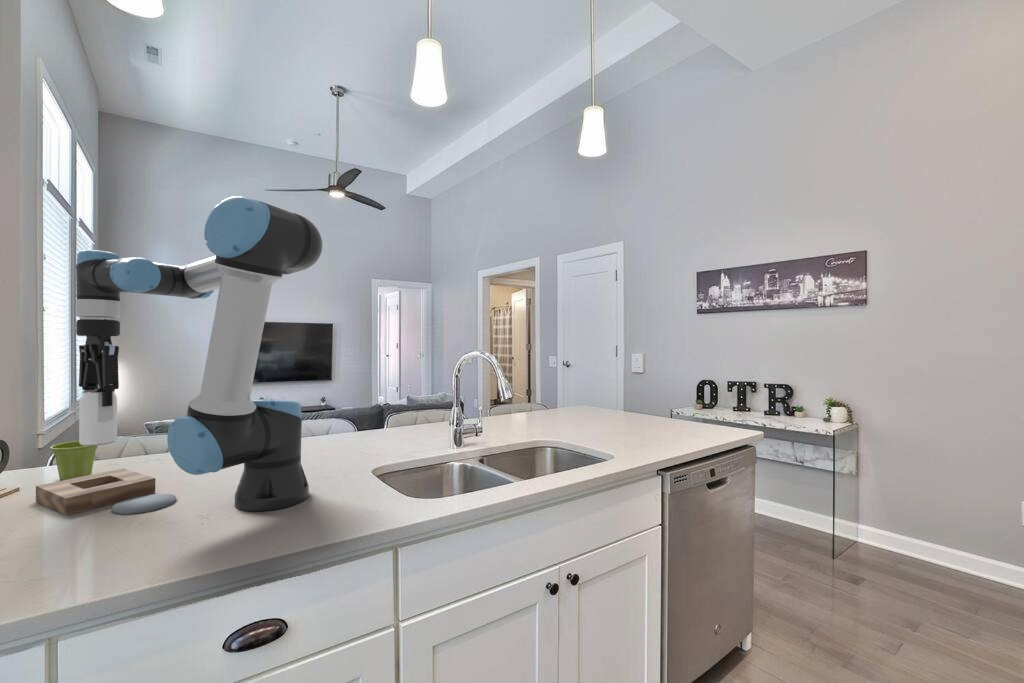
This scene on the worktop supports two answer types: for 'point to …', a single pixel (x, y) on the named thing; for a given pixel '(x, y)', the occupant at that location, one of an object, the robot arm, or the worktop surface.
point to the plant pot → (73, 459)
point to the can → (95, 421)
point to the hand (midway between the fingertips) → (98, 419)
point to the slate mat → (144, 503)
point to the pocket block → (94, 490)
